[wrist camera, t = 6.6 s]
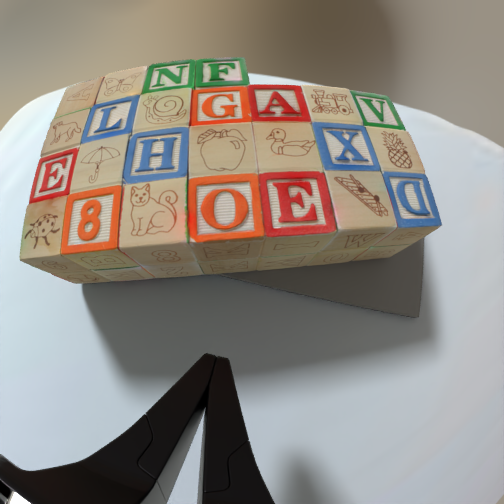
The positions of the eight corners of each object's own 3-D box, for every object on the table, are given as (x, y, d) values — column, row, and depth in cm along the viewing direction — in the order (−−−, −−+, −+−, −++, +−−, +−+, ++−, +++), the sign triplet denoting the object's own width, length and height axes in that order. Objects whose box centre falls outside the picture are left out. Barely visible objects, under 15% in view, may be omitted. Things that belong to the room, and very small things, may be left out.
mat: (414, 317, 17) (418, 317, 17) (83, 238, 17) (79, 236, 17) (416, 165, 21) (419, 162, 20) (149, 103, 21) (148, 99, 21)
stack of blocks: (390, 260, 18) (349, 119, 21) (446, 228, 12) (375, 66, 15) (73, 284, 16) (95, 136, 19) (14, 259, 10) (66, 85, 13)
